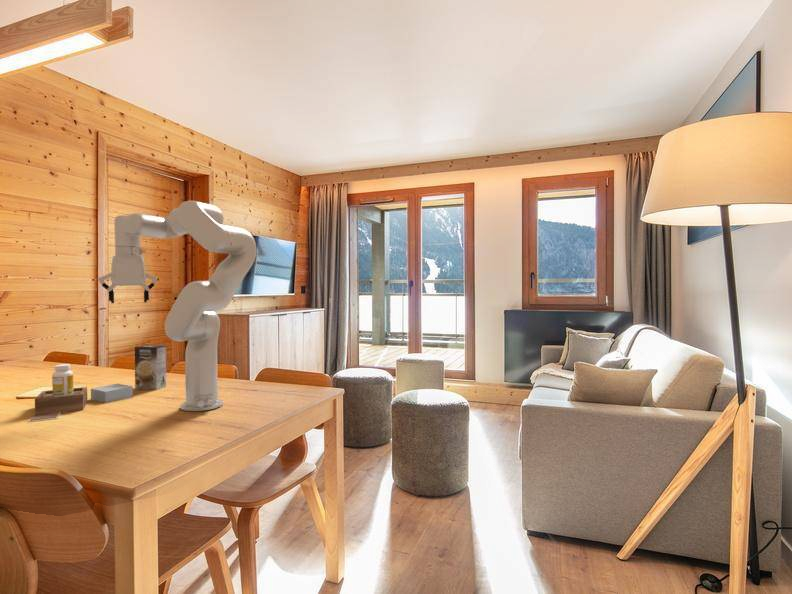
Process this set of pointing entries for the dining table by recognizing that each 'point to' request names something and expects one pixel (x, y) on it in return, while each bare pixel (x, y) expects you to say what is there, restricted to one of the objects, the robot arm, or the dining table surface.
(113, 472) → the dining table surface
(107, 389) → the slate block
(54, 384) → the supplement bottle
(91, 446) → the dining table surface
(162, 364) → the coffee box
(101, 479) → the dining table surface
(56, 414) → the swatch
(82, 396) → the walnut tray
